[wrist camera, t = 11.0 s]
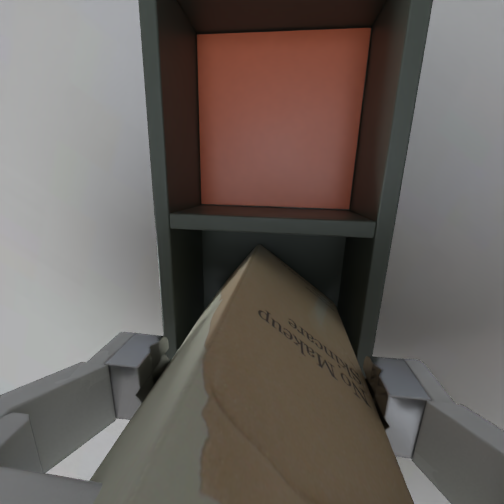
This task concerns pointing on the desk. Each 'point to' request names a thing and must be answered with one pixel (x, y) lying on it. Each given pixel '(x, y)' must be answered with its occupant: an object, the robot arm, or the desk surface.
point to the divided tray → (279, 144)
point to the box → (257, 408)
